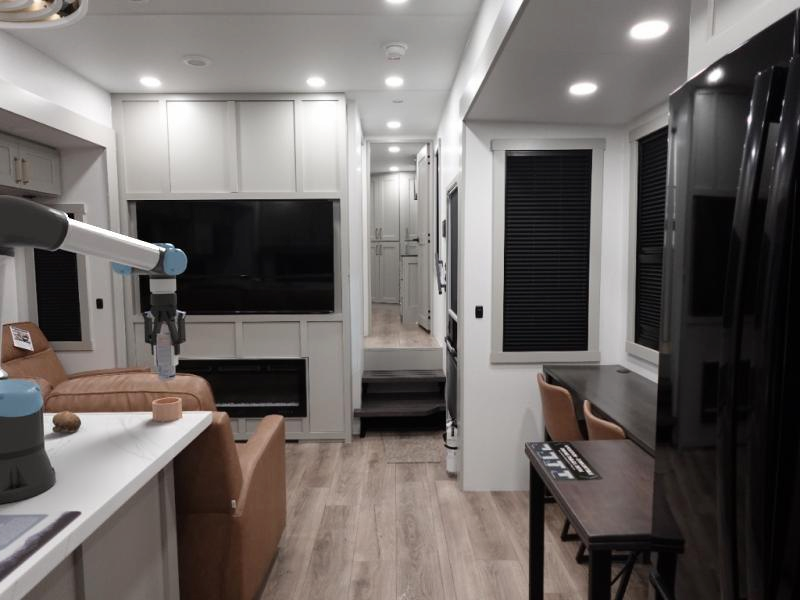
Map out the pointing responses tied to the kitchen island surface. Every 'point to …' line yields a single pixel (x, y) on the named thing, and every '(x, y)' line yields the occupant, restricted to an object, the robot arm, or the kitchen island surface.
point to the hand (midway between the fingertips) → (166, 365)
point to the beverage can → (165, 357)
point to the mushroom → (66, 422)
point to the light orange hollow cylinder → (167, 409)
